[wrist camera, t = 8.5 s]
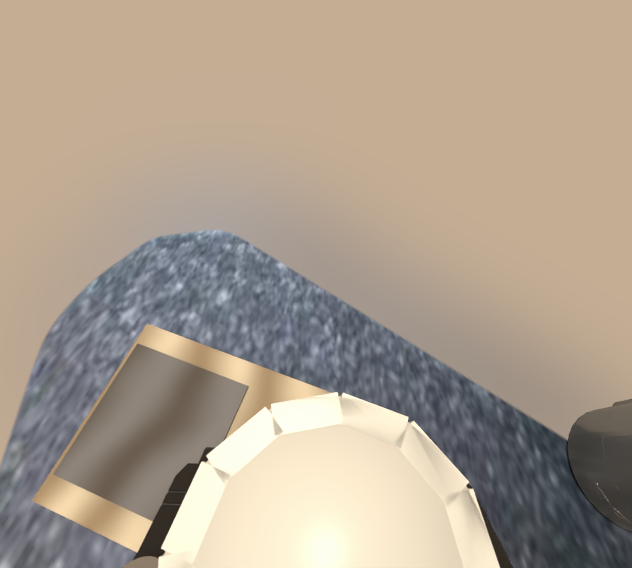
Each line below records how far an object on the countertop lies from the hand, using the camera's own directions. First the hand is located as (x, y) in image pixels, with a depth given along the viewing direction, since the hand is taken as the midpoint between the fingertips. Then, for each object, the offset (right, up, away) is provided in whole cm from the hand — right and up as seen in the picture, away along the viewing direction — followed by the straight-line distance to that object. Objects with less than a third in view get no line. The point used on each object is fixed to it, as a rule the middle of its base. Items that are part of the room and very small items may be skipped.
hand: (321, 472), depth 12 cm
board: (-7, -8, +16) cm, 19 cm away
